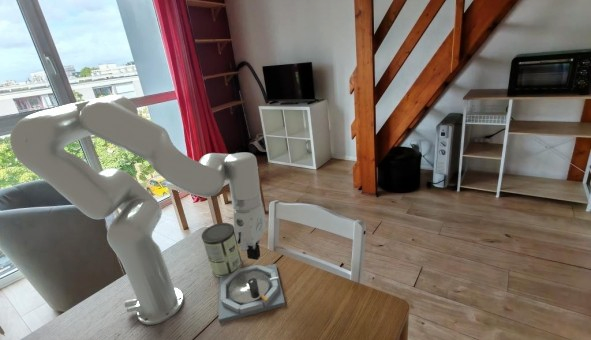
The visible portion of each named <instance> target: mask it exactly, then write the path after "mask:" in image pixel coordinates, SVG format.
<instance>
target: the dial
mask: <svg viewBox="0 0 591 340" xmlns="http://www.w3.org/2000/svg"><path fill="white" fill-rule="evenodd" d="M269 289H270V282H269V278H268V277H267V276H266V275H265V274H264V273H262V272H257V271H251V272H246V273H244V274H241V275H239V276H238V277H236V278H235V279H234V280H233V281H232V283H231V284H230V287H229V295H230V298H231V300H232V301H233V302H235V303H237V304H240V305H244V304H248V303H252V302H255V301H259V300H261V299H262V298H261V297H260V296H261V295H264V296H265V295H266V294H267V293H268V291H269Z"/></svg>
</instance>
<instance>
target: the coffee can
mask: <svg viewBox="0 0 591 340" xmlns="http://www.w3.org/2000/svg"><path fill="white" fill-rule="evenodd" d="M201 240H202V243H203V245H204V249H205V251H206V257H207V259H208V263H209V266H210V269H211V273H212V275H213V276H215V277H217V278H220V277H222V276H226V275H230V274H232V273H233V272H235V271H236V270H237V271H238V269H241V268H242V266H243V260H242V258H241V254H240V250H239V244H238V243H237V241H236V237H235V229H234V224H231V223H228V222H220V223H216V224H212V225H211V226H209V227H207V228H206V229H204V230H203V232H202V233H201Z"/></svg>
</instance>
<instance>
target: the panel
mask: <svg viewBox="0 0 591 340" xmlns="http://www.w3.org/2000/svg"><path fill="white" fill-rule="evenodd" d="M251 271H257V272H262V273H264V274H265V275H266V276H267V277H268V278H269V282H270V289H269V291H268V293H267V294H266V295H265V296H264V295H261V296H260V297H261V298H262V299H261V300H259V301H255V302H252V303H248V304H244V305H240V304H237V303H235V302H233V301H232V300H231V298H230V295H229V287H230V284H231V283H232V281H233V280H234V279H235V278H236V277H238V276H239V275H241V274H244V273H246V272H251ZM218 294H219V295H218V323H220V324H221V323H224V322H228V321H232V320H235V319H238V318H239V319H240V318H242V317H247V316H251V315H255V314H258V313H263V312H265V311H270V310H273V309H277V308H281V307H285V306H286V301H285V298H284V294H283V289H282V286H281V281H280V277H279V273H278V269H277V264H276V263H273V264H268V265H264V266H263V265H260V264H258V265H257V264H254V265H250V266H246V267H243V268H242V267H241V268H240V269H238V271H237V270H236V271H235V272H233V273H232V274H230V275H226V276H222V277H219V293H218Z"/></svg>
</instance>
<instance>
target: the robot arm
mask: <svg viewBox="0 0 591 340" xmlns="http://www.w3.org/2000/svg"><path fill="white" fill-rule="evenodd" d="M138 112H139V111H138V109H137V106H136V105H135V103H134V102H133V101H132V100H131V99H129V98H128V97H126V96H123V95H119V94H110V95H105V96H103V97H98V98H94V99H89V100H88V99H87V100H84V101H79V102H78V101H77V102H73V103H67V104H63V105H60V106H56V107H52V108H48V109H44V110H41V111H37V112H33V113H31V114H29V115H26V116H24V117H22V118H21V119H20V120H18V122H16V123H15V125H14V126H13V127H12V129H11V132H10V137H9V139H10V140H9V141H10V147H11V150H12V153H13V154H14V156H15V157H16V159H17V160H18V162H20V164H22V165H23V166H24V167H25V168H26V169H28V170H29V171H30V172H32V173H33V174H34V175H36V176H37V177H39V178H41V179H42V180H44V181H45V182H46V183H47V184H48V185H50V186H51V187H53V188H54V190H55V191H57V193H59V194H60V195H61V196H62V197H64V198H65V199H66V200H67V201H69V203H71V204H72V205H73V206H74V207H75V208H77V210H79V211H80V212H81V213H82V214H84V215H85V216H87V217H88V218H91V219H93V220H103V219H106V218H108V217H109V216H111V215H112V214H113V213H114V212H116V211H117V209H119V210H120V212H119V213H118V214H117V215H116V217H115V218H114V219H113V220H112V222H111V223H110V225H109V227H108V229H107V233H106V240H107V243H108V245H109V246H110V248H111V249H112V251H114V253H115V254H116V255H117V257H118V260H119V261H120V263H121V265H122V267H123V270H124V271H125V274H126V277H127V278H128V281H129V283H130V286H131V288H132V290H133V293H134V294H135V296H136V297H135V298H133V299H127V300H125V301H124V307H125V308H126V312H127V313H131V312H135V311H136V316H137V318H138V321H139V322H140V323H142V324H143V325H151V326H152V325H156V324H157V325H158V324H160V323H163V322H165V321H167V320H168V319H170V318H172V317H173V316H175V314H176V313H177V312H178V311H180V309H181V308H182V306H183V304H184V300H185V299H184V294H183V291H181V289H179V288H177V287H175V286H174V283H173V281H172V277H171V275H170V272H169V270H168V266H167V263H166V260H165V257H164V255H163V253H162V249H161V248H160V246H159V245H158V243H156V241H155V240H154V239H153V232H154V231H155V228H156V227H157V225H158V224H159V222H160V221H161V218H162V214H163V212H162V211H163V210H162V206H161V205H160V203H159V202H158V200H157V199H156V198H155V197H154V196H153V195H152V194H151V193H150V192H149V190H147V189H146V188H145V187H144V186H143V185H142V184H141V183H140V182H139V181H138V180H137V179H136V178H135V177H133V176H132V175H131V174H130V173H128V172H126V170H125V171H124V170H123V169H120V168H106V169H105V168H104V169H103V170H101V171H99V172H98V171H96V170H95V169H94V167H92V166H91V165H90V164H89V163H88V162H87V161H86V160H84V159H83V158H81V157H79V156H77V155H76V154H73V153H71V152H68V151H66V150H65V147H67V146H69V145H71V144H74V143H75V142H77V141H79V140H81V139H84V138H87V137H92V136H95V138H99V139H101V140H103V141H105V142H107V143H109V144H112V145H114V146H116V147H117V148H120V149H122V150H124V151H127V152H128V153H131V155H132V154H133V155H135V156H137V157H138V158H141V159H144V160H145V161H146V162H147V163H148V164H149V165H150V166H151V168H152V169H153V170H154V171H156V172H157V173H158V174H159V175H160V176H161V177H162V178H164V180H166V181H167V182H169V183H170V184H172V185H173V186H175V187H178V188H179V189H182V190H183V191H187V192H189V193H190V194H193V195H196V196H198V197H199V196H200V197H203V198H204V197H206V198H207V197H213V196H216V195H217V194H219V193H220V192H221V190H222V189H223V187H224V185H225V182H226V181H228V185H229V193H230V199H231V205H232V209H233V227H234V232H235V237H236V241H237V245H240V251H244V252H246V254H247V258H248V259H249V260H250V259H251V260H255V261H258V260H259V258H260V257H261V250H260V238H261V237H262V236H263V234H264V233H265V231H266V229H267V219H266V213H265V208H264V204H263V201H262V195H261V188H260V187H261V186H260V178H259V170H258V169H259V168H258V161H257V157H256V155H254V154H253V153H251V152H245V151H244V152H236V153H220V152H218V153H216V152H211V153H210V152H209V153H207V154H204V155H203V156H202V157H201V158H200V159H199V161H196V160H195V159H192V158H191V157H189V156H187V155H186V154H184V153H183V152H182V151H180V150H179V149H178V148H177V147H176V146H175V145H174V143H173V142H172V139H171V138H170V135H169V133H168V131H167V129H166V128H165V127H163V126H162V125H159V124H157V123H155V122H153V121H151V120H149V119H147V118H145V117H143V116H141V115H139V113H138Z"/></svg>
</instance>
